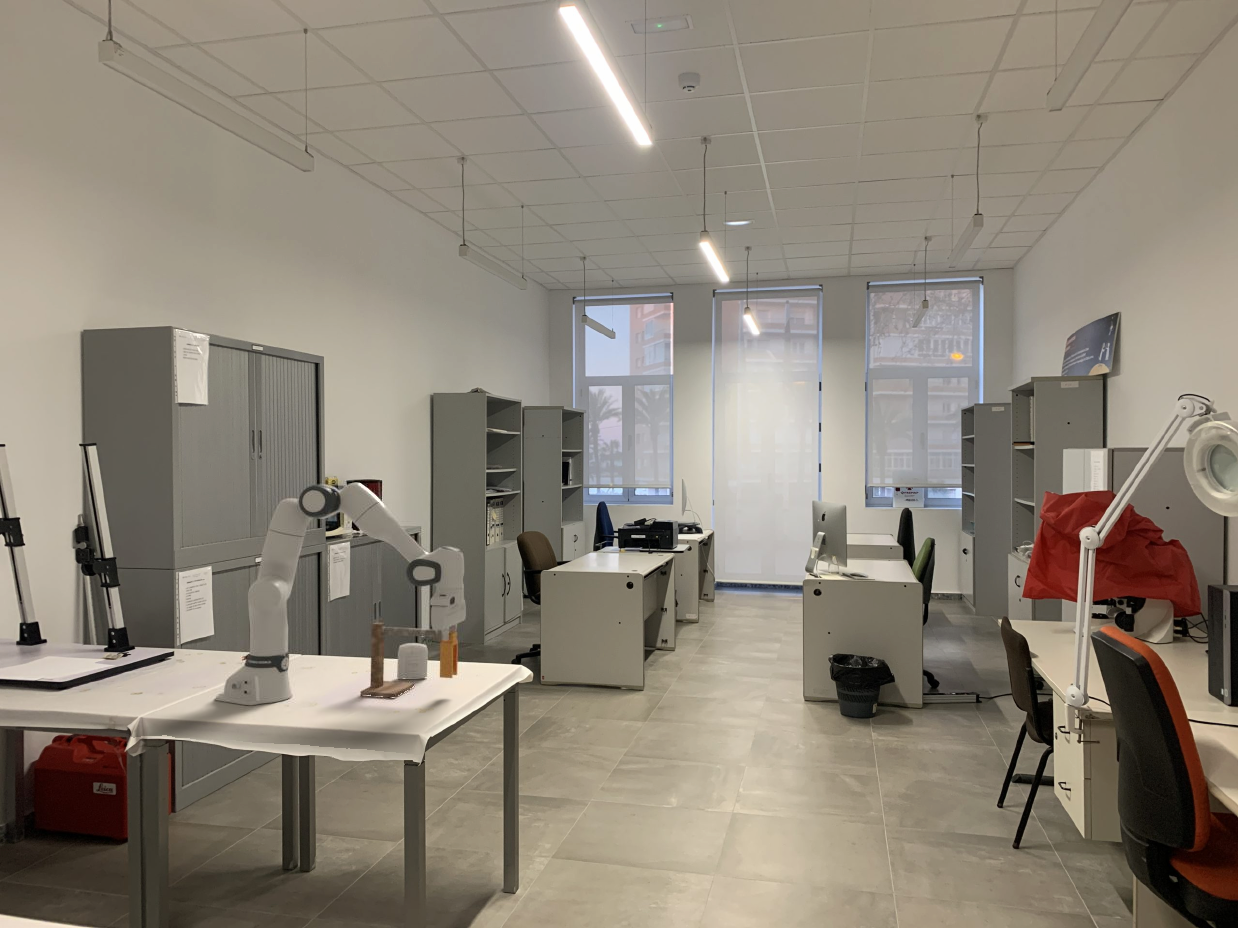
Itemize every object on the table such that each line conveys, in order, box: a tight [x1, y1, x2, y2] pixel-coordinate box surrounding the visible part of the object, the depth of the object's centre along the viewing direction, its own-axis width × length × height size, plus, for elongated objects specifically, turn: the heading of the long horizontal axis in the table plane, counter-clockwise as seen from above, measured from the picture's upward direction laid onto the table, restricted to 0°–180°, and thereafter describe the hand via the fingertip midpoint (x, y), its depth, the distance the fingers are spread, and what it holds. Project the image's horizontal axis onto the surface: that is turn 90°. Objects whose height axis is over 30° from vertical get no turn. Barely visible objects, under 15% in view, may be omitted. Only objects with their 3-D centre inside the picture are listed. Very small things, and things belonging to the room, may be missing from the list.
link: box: [439, 630, 459, 679], centre depth 259 cm, size 4×5×14 cm
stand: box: [360, 621, 439, 698], centre depth 262 cm, size 22×14×22 cm, turn 79°
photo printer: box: [396, 642, 429, 680], centre depth 281 cm, size 10×4×12 cm, turn 98°
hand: (449, 639), depth 259 cm, fingers closed on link, 3 cm apart
